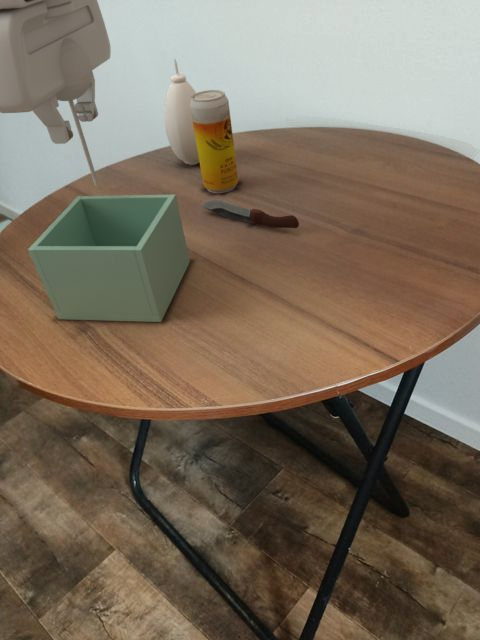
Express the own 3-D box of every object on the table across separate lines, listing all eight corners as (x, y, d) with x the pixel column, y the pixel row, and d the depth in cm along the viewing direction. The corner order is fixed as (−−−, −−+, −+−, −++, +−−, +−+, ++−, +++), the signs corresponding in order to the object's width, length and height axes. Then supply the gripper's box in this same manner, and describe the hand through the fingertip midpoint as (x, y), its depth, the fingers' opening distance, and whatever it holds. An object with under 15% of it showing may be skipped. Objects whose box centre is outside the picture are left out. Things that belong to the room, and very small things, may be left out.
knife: (198, 213, 84) (195, 195, 82) (204, 209, 85) (201, 191, 83) (296, 238, 75) (295, 219, 73) (301, 233, 76) (300, 214, 74)
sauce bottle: (182, 175, 96) (161, 67, 84) (167, 162, 102) (145, 59, 90) (220, 163, 99) (205, 57, 87) (203, 152, 104) (186, 50, 92)
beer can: (230, 195, 88) (217, 101, 78) (198, 193, 90) (181, 100, 80) (244, 180, 92) (233, 89, 82) (212, 178, 94) (198, 88, 84)
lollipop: (104, 198, 56) (55, 40, 47) (59, 195, 58) (3, 42, 48) (132, 174, 61) (93, 26, 51) (90, 172, 63) (44, 28, 53)
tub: (58, 319, 65) (27, 249, 59) (99, 261, 75) (77, 195, 69) (161, 322, 63) (140, 249, 56) (190, 261, 73) (175, 194, 66)
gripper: (48, -39, 55) (88, 101, 64) (-76, -9, 40) (1, 169, 49) (104, -45, 54) (137, 98, 63) (-1, -16, 39) (62, 167, 48)
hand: (76, 130), depth 56 cm, fingers closed on lollipop, 5 cm apart
